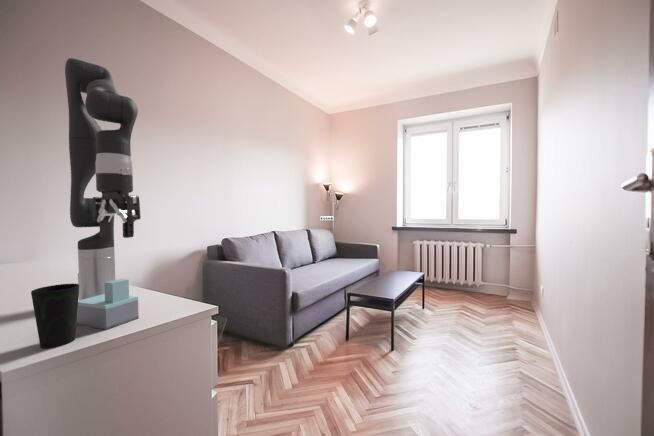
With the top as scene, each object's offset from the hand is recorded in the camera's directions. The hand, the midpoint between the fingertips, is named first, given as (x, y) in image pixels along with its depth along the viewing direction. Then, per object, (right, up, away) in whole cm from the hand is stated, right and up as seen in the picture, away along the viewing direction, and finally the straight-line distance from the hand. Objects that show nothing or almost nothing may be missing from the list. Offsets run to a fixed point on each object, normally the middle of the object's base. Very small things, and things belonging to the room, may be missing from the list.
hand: (116, 237), depth 74 cm
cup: (-5, -23, -11) cm, 25 cm away
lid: (-4, -18, +1) cm, 18 cm away
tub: (-4, -22, +2) cm, 22 cm away
